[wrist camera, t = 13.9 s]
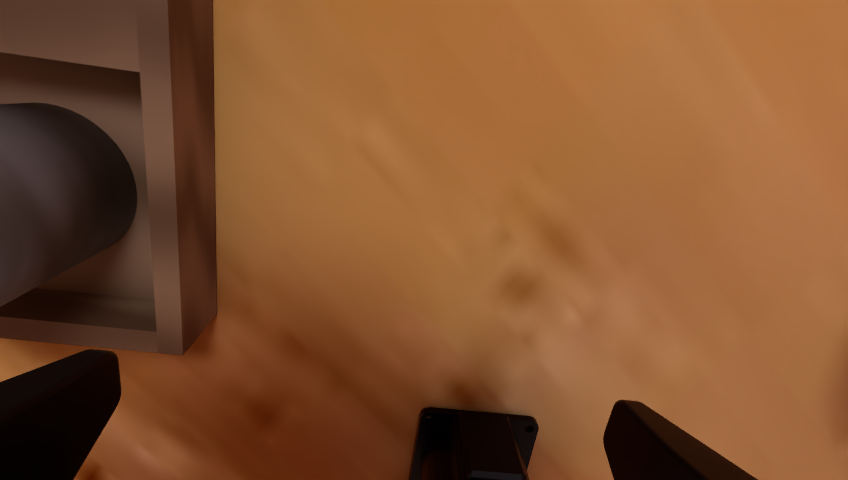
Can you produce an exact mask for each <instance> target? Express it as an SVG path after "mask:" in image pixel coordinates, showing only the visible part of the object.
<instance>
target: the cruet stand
mask: <svg viewBox="0 0 848 480" xmlns="http://www.w3.org/2000/svg"><path fill="white" fill-rule="evenodd" d="M216 314H217V289H216V216H215V143H214V71H213V0H0V338H6V339H17V340H27V341H38V342H48V343H59V344H69V345H80V346H90V347H101V348H111V349H122V350H132V351H143V352H154V353H164V354H175V355H184V353H185V352H186V351H187V350H188V349H189V347H190V346H191V345H192V344H193V342H194V341H195V340H196V339H197V338H198V336H199V335H200V334H201V333H202V332H203V330H204V329H205V328H206V327H207V325H208V324H209V323H210V322H211V321H212V319H213V318H214V317H215V316H216Z"/></svg>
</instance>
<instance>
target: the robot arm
mask: <svg viewBox="0 0 848 480" xmlns="http://www.w3.org/2000/svg"><path fill="white" fill-rule="evenodd" d="M120 397H121V383H120V373H119V363H118V357H117V355H116V354H115V353H114V352H112V351H104V350H93V349H90V350H85V351H82V352H79V353H77V354H74V355H71V356H69V357H66V358H63V359H61V360H58V361H55V362H53V363H50V364H47V365H45V366H42V367H39V368H37V369H34V370H31V371H29V372H26V373H23V374H21V375H18V376H15V377H13V378H10V379H7V380H5V381H2V382H0V480H73V479H74V478H75V476H76V474H77V473H78V471H79V469H80V468H81V466H82V464H83V463H84V461H85V459H86V458H87V456H88V454H89V453H90V451H91V449H92V447H93V446H94V444H95V442H96V441H97V439H98V437H99V436H100V434H101V432H102V431H103V429H104V427H105V426H106V424H107V422H108V421H109V419H110V417H111V416H112V414H113V412H114V411H115V409H116V407H117V405H118V403H119V400H120ZM428 416H431V417H432V418H430V419H428V418H426V417H428ZM528 425H531V426H530V427H526V426H528ZM537 433H538V424H537V422H536V420H535V418H533V417H530V416H521V415H510V414H499V413H488V412H477V411H466V410H454V409H443V408H432V407H429V408H425V409H423V410H422V411H421V413H420V418H419V424H418V430H417V436H416V442H415V448H414V453H413V459H412V465H411V471H410V477H409V480H529V477H528V474H527V468H528V464H529V461H530V457H531V454H532V450H533V447H534V443H535V440H536V436H537ZM603 441H604V448H605V451H606V455H607V458H608V461H609V465H610V468H611V471H612V474H613V478H614V480H758V479H756V478H755V477H753V476H752V475H750V474H748V473H747V472H745V471H744V470H742V469H741V468H739V467H738V466H736V465H735V464H733V463H732V462H730V461H729V460H727V459H726V458H724V457H723V456H721V455H720V454H718V453H717V452H715V451H714V450H712V449H711V448H709V447H708V446H706V445H705V444H703V443H702V442H700V441H699V440H697V439H696V438H694V437H693V436H691V435H690V434H688V433H687V432H685V431H684V430H682V429H681V428H679V427H678V426H676V425H675V424H673V423H672V422H670V421H669V420H667V419H666V418H664V417H663V416H661V415H659V414H658V413H656V412H655V411H653V410H652V409H650V408H649V407H647V406H646V405H644V404H643V403H641V402H638V401H630V400H619V401H617V402H616V403H615V404H614V406H613V409H612V412H611V415H610V418H609V421H608V423H607V426H606V429H605V432H604V438H603Z"/></svg>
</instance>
